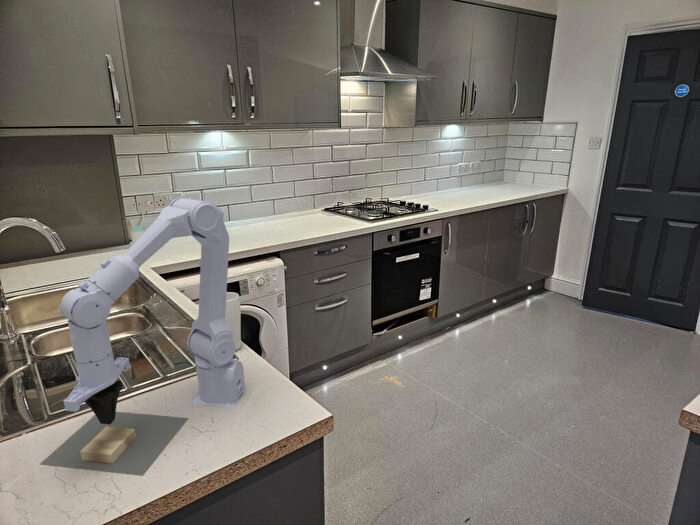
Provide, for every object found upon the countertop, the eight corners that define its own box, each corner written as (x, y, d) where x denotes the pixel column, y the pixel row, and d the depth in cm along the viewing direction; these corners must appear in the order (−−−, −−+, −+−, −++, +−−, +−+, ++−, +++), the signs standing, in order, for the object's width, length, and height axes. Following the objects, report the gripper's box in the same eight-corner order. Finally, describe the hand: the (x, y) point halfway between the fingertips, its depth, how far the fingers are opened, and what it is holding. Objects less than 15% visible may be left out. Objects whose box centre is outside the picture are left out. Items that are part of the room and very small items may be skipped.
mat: (189, 420, 93) (188, 418, 93) (143, 478, 78) (142, 475, 78) (100, 412, 96) (100, 410, 96) (40, 466, 81) (39, 464, 81)
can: (152, 249, 223) (149, 225, 219) (142, 253, 216) (138, 228, 213) (140, 248, 225) (137, 224, 221) (130, 252, 218) (126, 227, 215)
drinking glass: (246, 342, 126) (242, 291, 122) (240, 354, 120) (235, 301, 115) (222, 342, 126) (217, 291, 122) (214, 354, 120) (208, 301, 115)
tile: (134, 429, 87) (110, 454, 80) (136, 438, 87) (112, 463, 81) (106, 426, 87) (80, 451, 81) (108, 435, 88) (82, 460, 81)
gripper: (101, 335, 87) (113, 397, 91) (40, 375, 73) (58, 446, 77) (135, 337, 86) (145, 400, 90) (80, 378, 72) (95, 450, 76)
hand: (107, 421), depth 83 cm, fingers closed
